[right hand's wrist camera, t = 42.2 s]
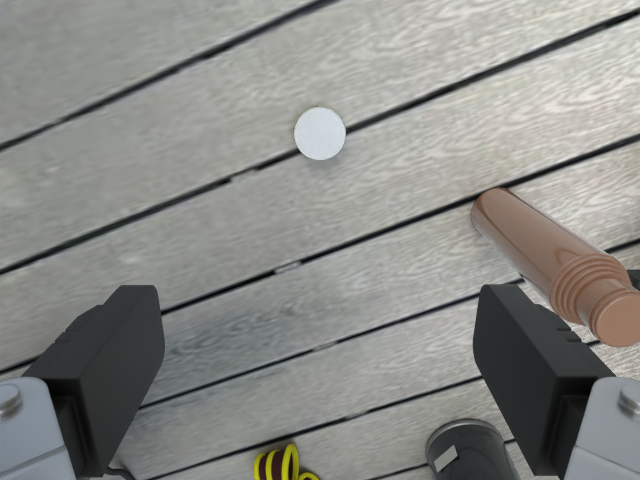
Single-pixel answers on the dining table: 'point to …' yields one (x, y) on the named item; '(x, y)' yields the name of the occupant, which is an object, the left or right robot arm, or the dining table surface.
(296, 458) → the opera glasses
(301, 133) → the cap
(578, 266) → the bottle
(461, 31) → the dining table surface
